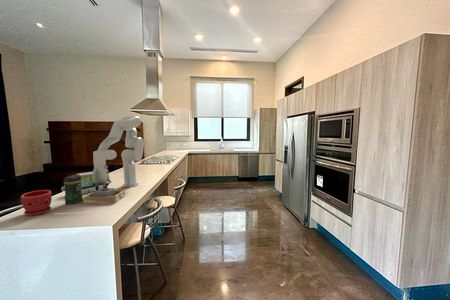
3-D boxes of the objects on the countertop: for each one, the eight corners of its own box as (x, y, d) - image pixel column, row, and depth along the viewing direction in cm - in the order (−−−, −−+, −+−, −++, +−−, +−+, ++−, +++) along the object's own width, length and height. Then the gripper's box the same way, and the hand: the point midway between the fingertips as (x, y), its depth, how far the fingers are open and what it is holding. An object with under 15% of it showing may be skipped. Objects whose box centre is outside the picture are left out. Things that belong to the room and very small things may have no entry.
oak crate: (96, 198, 146) (95, 191, 146) (124, 197, 147) (124, 190, 147) (83, 205, 132) (83, 197, 132) (115, 204, 133) (115, 196, 133)
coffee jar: (75, 205, 132) (73, 177, 130) (62, 205, 132) (60, 177, 130) (85, 200, 142) (83, 173, 140) (73, 200, 141) (71, 174, 140)
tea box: (81, 194, 155) (80, 175, 154) (77, 192, 161) (75, 173, 160) (103, 189, 167) (101, 171, 166) (97, 187, 173) (96, 170, 172)
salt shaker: (100, 194, 154) (99, 181, 153) (106, 194, 155) (106, 181, 154) (97, 196, 150) (96, 183, 149) (103, 196, 150) (102, 182, 149)
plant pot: (16, 217, 115) (13, 196, 114) (40, 208, 128) (38, 189, 127) (36, 218, 113) (34, 197, 112) (58, 209, 126) (57, 190, 125)
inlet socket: (102, 198, 144) (101, 188, 143) (115, 197, 144) (114, 188, 144) (94, 202, 135) (93, 192, 134) (108, 202, 136) (108, 191, 135)
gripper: (114, 166, 154) (115, 190, 156) (91, 166, 154) (92, 190, 155) (109, 168, 147) (111, 193, 149) (84, 168, 146) (86, 193, 148)
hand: (101, 191), depth 152 cm, fingers open, 4 cm apart
